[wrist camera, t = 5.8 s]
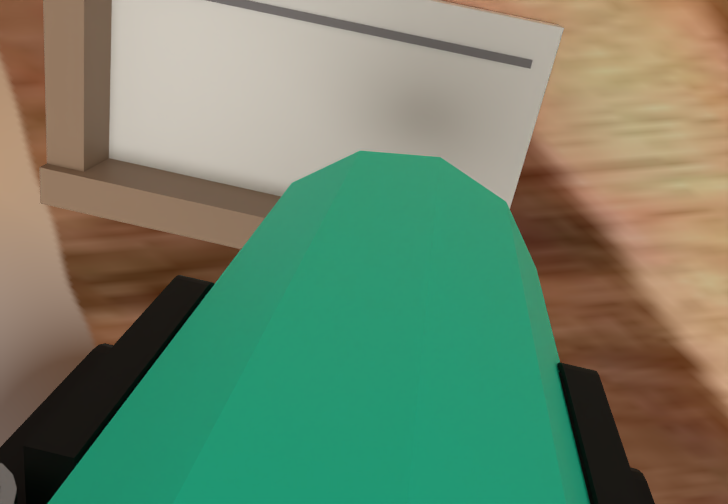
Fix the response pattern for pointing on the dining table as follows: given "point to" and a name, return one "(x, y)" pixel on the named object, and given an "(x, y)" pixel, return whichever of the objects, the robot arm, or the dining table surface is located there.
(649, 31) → the dining table surface
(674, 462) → the dining table surface
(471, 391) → the candle
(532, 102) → the jig board
